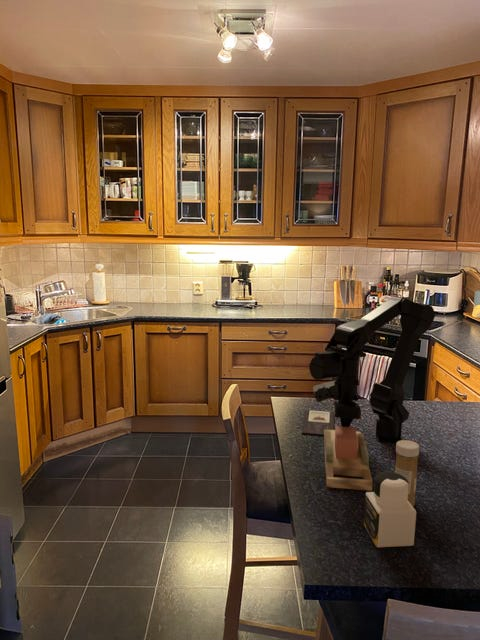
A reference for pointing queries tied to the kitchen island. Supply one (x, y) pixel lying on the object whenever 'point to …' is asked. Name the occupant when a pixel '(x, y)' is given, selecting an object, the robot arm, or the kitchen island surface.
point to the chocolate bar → (317, 422)
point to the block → (346, 442)
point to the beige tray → (347, 465)
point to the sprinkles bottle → (407, 465)
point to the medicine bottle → (390, 511)
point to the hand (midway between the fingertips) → (344, 431)
